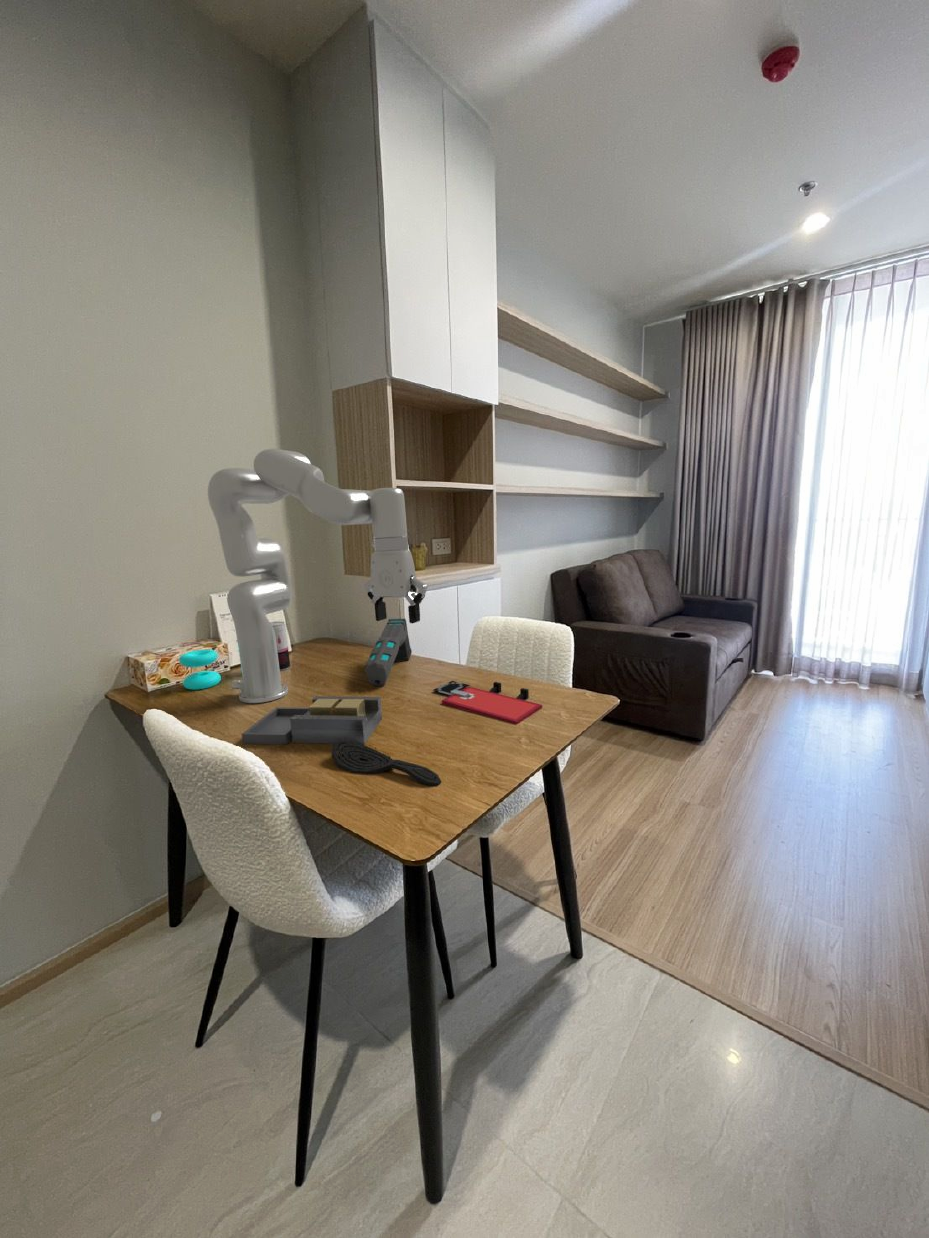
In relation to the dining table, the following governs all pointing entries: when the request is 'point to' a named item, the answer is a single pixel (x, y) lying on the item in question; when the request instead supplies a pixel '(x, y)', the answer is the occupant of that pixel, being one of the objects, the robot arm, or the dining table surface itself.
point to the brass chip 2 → (350, 707)
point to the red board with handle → (489, 701)
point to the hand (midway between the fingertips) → (397, 620)
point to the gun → (388, 651)
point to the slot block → (337, 724)
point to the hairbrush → (377, 762)
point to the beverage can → (281, 645)
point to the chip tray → (273, 727)
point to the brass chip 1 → (323, 707)
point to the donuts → (204, 677)
